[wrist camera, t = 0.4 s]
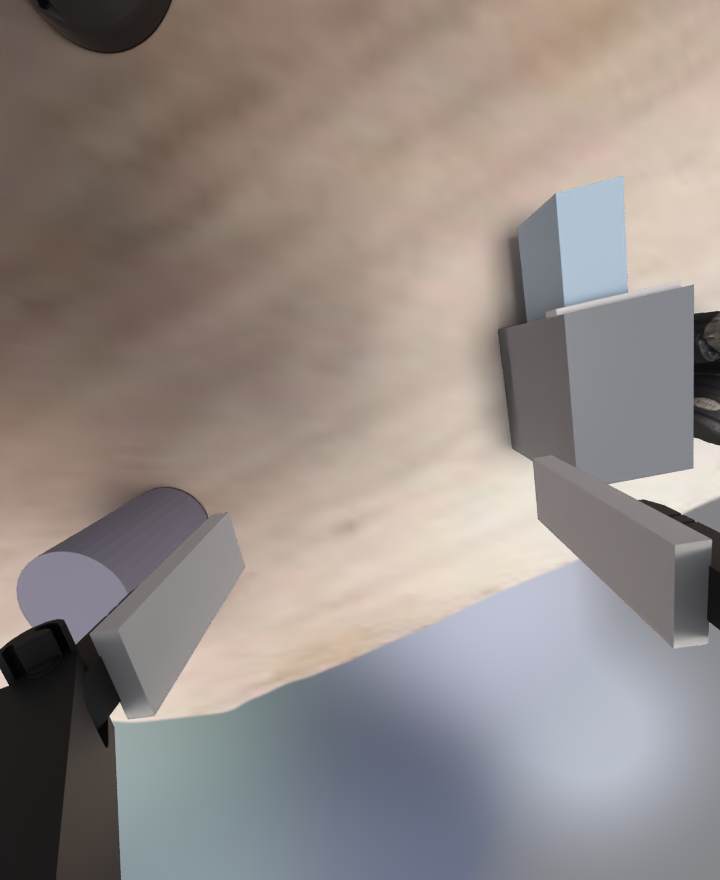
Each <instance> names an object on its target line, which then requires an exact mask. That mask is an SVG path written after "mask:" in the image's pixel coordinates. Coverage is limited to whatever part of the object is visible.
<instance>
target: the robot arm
mask: <svg viewBox="0 0 720 880" xmlns="http://www.w3.org/2000/svg"><path fill="white" fill-rule="evenodd" d="M28 1H29V2H30V4H31V5H32V6H33V7H34V8H35V9H36V10H37V11H38V12H39V13H40V14H41V15H42V16H43V17H44V18H45V19H46V20H47V21H48V22H49V23H50V25H51V26H52V27H53V28H54V29H56V30H57V31H58V32H59V33H60V34H61V35H63V36H64V37H65V38H67V39H68V40H70V41H72V42H73V43H75V44H77V45H79V46H81V47H84V48H87V49H90V50H94V51H100V52H116V51H121V50H125V49H128V48H130V47H132V46H134V45H136V44H138V43H140V42H141V41H143V40H144V39H145V38H146V37H147V36H149V35H150V34H151V33H152V32H153V30H154V29H155V28H156V27H157V26H158V24H159V23H160V21H161V20H162V18H163V16H164V14H165V12H166V10H167V8H168V6H169V3H170V0H28ZM533 468H534V479H535V491H536V502H537V514H538V520H539V521H540V522H541V523H543V524H544V525H545V526H546V527H547V528H548V529H549V530H550V531H551V532H552V533H553V534H554V535H555V536H556V537H557V538H558V539H559V540H560V541H561V542H562V543H564V544H565V545H566V546H567V547H568V548H569V549H570V550H571V551H572V552H573V553H574V554H575V555H576V556H577V557H578V558H579V559H580V560H581V561H582V562H584V564H586V565H587V566H588V567H589V568H590V569H591V570H592V571H593V572H594V573H595V574H596V575H597V576H598V577H599V578H600V579H601V580H602V581H604V583H606V585H608V586H609V587H610V588H611V589H612V590H613V591H614V592H615V593H616V594H617V595H618V596H619V597H620V598H621V599H622V600H623V601H624V602H625V603H626V604H627V605H629V606H630V607H631V608H632V609H633V610H634V611H635V612H636V613H637V614H638V615H639V616H640V617H641V618H642V619H643V620H644V621H645V622H646V623H647V624H648V625H649V626H651V627H652V628H653V629H654V630H655V631H656V632H657V633H658V634H659V635H660V636H661V637H662V638H663V639H664V640H665V641H666V642H667V643H669V645H671V647H673V648H682V647H690V646H697V645H705V644H708V631H709V622H710V623H712V624H713V625H714V626H715V627H717V628H718V629H719V630H720V533H719V532H717V531H715V530H713V529H711V528H709V527H707V526H705V525H703V524H701V523H699V522H695V521H694V520H693V519H691V518H689V517H687V516H685V515H681V513H679V512H677V511H675V510H673V509H671V508H669V507H667V506H665V505H661V504H658V503H654V502H651V501H647V500H644V499H643V500H636V499H634V498H632V497H631V496H629V495H627V494H625V493H623V492H621V491H619V490H617V489H615V488H613V487H612V486H610V485H608V484H606V483H604V482H602V481H600V480H598V479H596V478H594V477H593V476H591V475H589V474H587V473H585V472H583V471H581V470H579V469H577V468H575V467H574V466H572V465H570V464H568V463H566V462H564V461H562V460H560V459H558V458H557V457H555V456H553V455H549V456H543V457H538V458H533ZM244 568H245V564H244V561H243V557H242V554H241V551H240V548H239V545H238V541H237V538H236V535H235V532H234V529H233V525H232V522H231V519H230V516H229V512H225V513H219V514H214V515H211V516H210V517H209V518H208V519H207V520H206V521H205V522H204V523H203V524H202V525H201V526H200V527H199V528H198V529H197V530H196V531H195V532H194V533H193V534H192V535H191V536H190V537H189V538H187V539H186V540H185V541H184V542H183V543H182V544H181V545H180V546H179V547H178V548H177V549H176V550H175V551H174V552H173V553H172V554H171V555H170V556H169V557H168V558H167V559H166V560H165V561H164V562H163V563H162V564H161V565H160V566H159V567H158V568H157V569H156V570H155V571H154V572H153V573H152V574H151V575H149V576H148V577H147V578H146V579H145V580H144V581H143V582H142V583H141V584H140V585H139V586H138V587H137V588H135V589H134V590H133V591H131V592H130V593H129V594H128V595H127V596H126V597H124V598H123V599H122V600H121V601H120V602H119V603H118V606H115V607H114V608H113V609H112V610H111V611H110V612H109V613H108V615H107V616H105V617H104V618H103V619H102V620H101V621H100V622H99V623H98V624H96V625H95V626H94V627H93V628H92V629H91V630H90V631H89V632H88V633H87V634H86V635H85V636H84V637H83V638H82V639H81V640H80V641H79V642H78V643H77V644H75V642H74V640H73V638H72V635H71V633H70V631H69V629H68V627H67V625H66V622H65V620H63V619H56V620H51V621H47V622H45V623H42V624H40V625H37V626H35V627H33V628H31V629H29V630H27V631H25V632H23V633H22V634H20V635H19V636H17V637H15V638H14V639H12V640H11V641H9V642H8V643H7V644H6V645H5V646H4V647H2V648H1V649H0V669H1V671H2V673H3V675H4V677H5V679H6V680H7V682H8V684H9V686H7V687H4V688H2V689H0V880H121V871H120V848H119V825H118V803H117V802H118V801H117V778H116V755H115V733H114V726H113V723H112V721H111V719H110V717H109V716H110V715H111V713H112V712H113V710H114V709H115V708H116V706H117V705H118V704H119V702H120V703H121V705H122V707H123V710H124V712H125V714H126V716H127V719H135V718H142V717H150V716H155V714H156V713H157V711H158V710H159V708H160V706H161V705H162V703H163V701H164V700H165V698H166V696H167V695H168V693H169V691H170V690H171V688H172V687H173V685H174V683H175V682H176V680H177V678H178V677H179V675H180V673H181V672H182V670H183V668H184V667H185V665H186V663H187V662H188V660H189V659H190V657H191V655H192V654H193V652H194V650H195V649H196V647H197V645H198V644H199V642H200V640H201V639H202V637H203V635H204V634H205V632H206V631H207V629H208V627H209V626H210V624H211V622H212V621H213V619H214V617H215V616H216V614H217V612H218V611H219V609H220V608H221V606H222V604H223V603H224V601H225V599H226V598H227V596H228V594H229V593H230V591H231V589H232V588H233V586H234V584H235V583H236V581H237V580H238V578H239V576H240V575H241V573H242V571H243V570H244Z"/></svg>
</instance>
